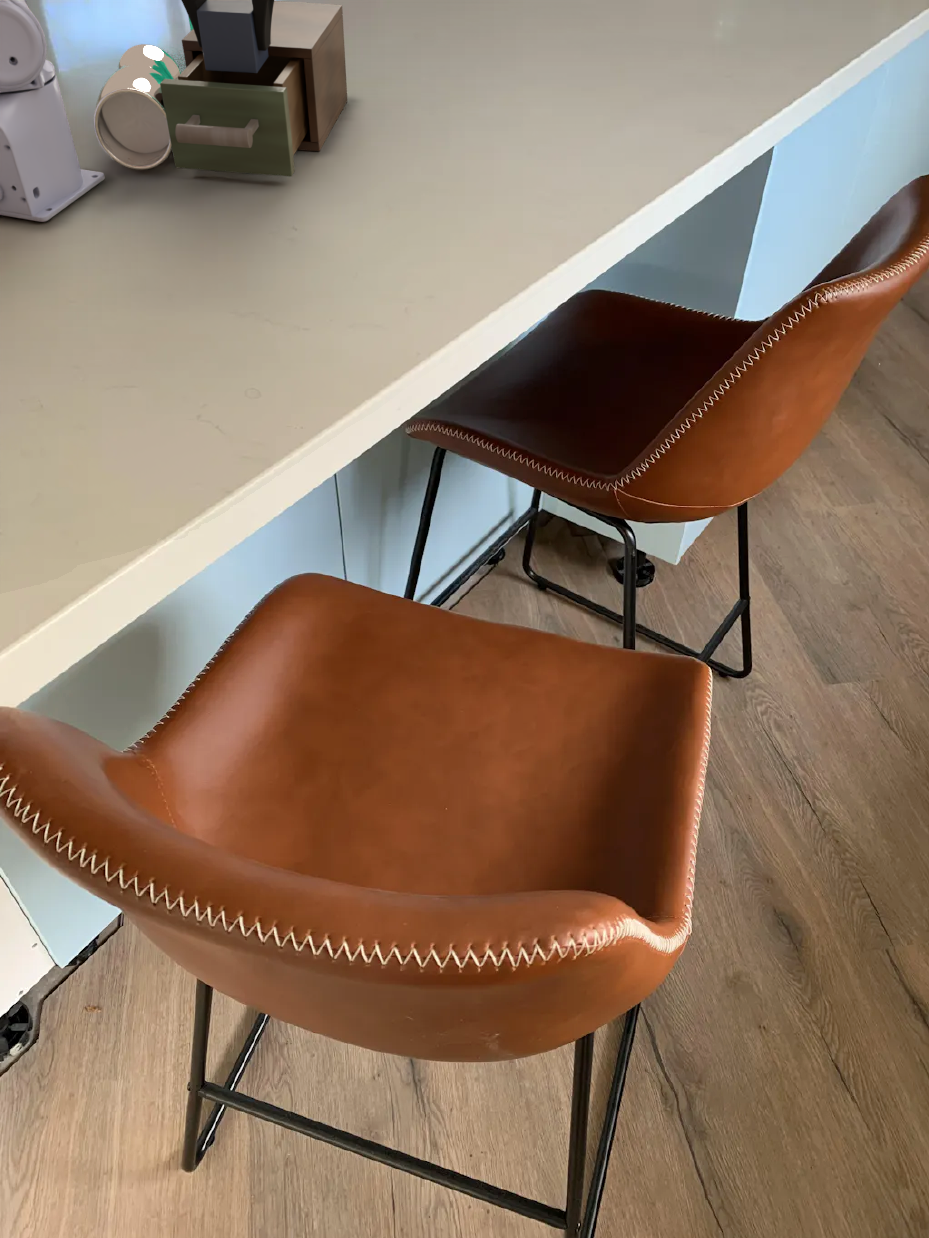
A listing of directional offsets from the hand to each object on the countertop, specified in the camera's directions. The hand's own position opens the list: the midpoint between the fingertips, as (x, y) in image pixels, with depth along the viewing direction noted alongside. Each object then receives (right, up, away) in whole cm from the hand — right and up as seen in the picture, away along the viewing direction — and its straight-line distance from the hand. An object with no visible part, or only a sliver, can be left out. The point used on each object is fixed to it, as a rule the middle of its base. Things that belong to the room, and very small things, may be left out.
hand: (234, 45), depth 80 cm
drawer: (0, -6, +6) cm, 9 cm away
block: (0, -1, +1) cm, 1 cm away
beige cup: (-11, +4, +12) cm, 17 cm away
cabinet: (+1, +1, +14) cm, 14 cm away
